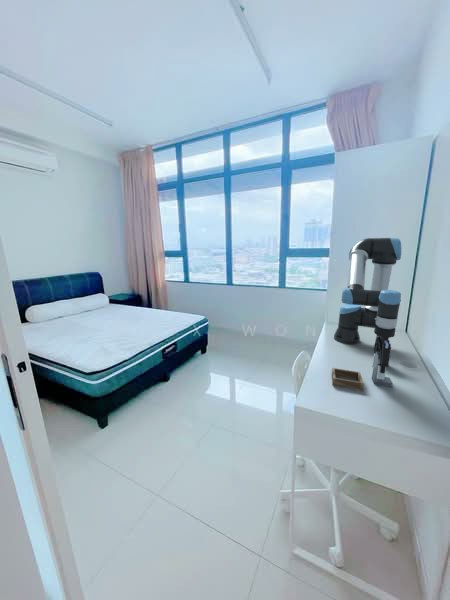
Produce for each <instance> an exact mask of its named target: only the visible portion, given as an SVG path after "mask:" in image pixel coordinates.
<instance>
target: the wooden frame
mask: <svg viewBox="0 0 450 600" xmlns="http://www.w3.org/2000/svg"><path fill="white" fill-rule="evenodd" d="M331 384H332V386H333V385H334V386H333V387H338V386H339V388H345V389H349V388H350V389H351V390H355V391H361V392H363V391H364V386H365V385H364V381H363V377H362V373H361V372H360V371H355V370H354V371H353V370H347V369H341V368H336V367H332V368H331Z"/></svg>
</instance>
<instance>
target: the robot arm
mask: <svg viewBox="0 0 450 600" xmlns="http://www.w3.org/2000/svg"><path fill="white" fill-rule="evenodd" d="M401 257H402V242H401V239H399V238H396V237H372V238H370V237H368V238H364V239H361V240H360V241H358V242H356V243H355V244H354V245H353V246H352V247H351V249H350V251H349V253H348V260H349V269H348V277H347V278H348V279H347V287H346V288H343V289H342V292H341V293H342V294H341V303H342V304H343V305H341V306H340V308H339V312H338V313H339V316H338V323H337V324H338V326H337V329H336V330H335V333H334V335H333V339H334V340H335V341H337V342H340V343H342V344H348V345H356V344H357V345H358V344H359V343H360V340H361V336H360V331H359V327H365V328H372V329H374V330H373V331H374V335H376V337H375V342H374V346H373V350H372V351H373V358H372V359H373V360H372V368H373V367H374V360H375V354H376V351H379V352H380V364H378V365H379V367H378V373H377V379H383V380H384V379H385V377H386V373H387V371H386V370H387V368H389V366H390V358H389V354H390V355H391V353H390V346H391V345H392V344H391V343H390V340H389V339H390V338H393V337H394V338H395V336H396V335H395V334H396V328H397V324H398V316H399V311H400V310H399V309H400V306H401V305H400V304H401V302H402V299H401V298H402V293H401V292H400V291H397V290H392V289H389V286H390V280H391V275H392V269H393V266H394V265H396V264H397V261H400V260H401ZM367 260H371V263H372V264H373V266H374V267H373V273H372V278H371V279H372V280H371V285H370V289H365V283H366V263H367ZM362 306H364V307H362ZM389 343H390V344H389ZM391 347H392V346H391Z"/></svg>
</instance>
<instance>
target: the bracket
mask: <svg viewBox="0 0 450 600" xmlns="http://www.w3.org/2000/svg"><path fill="white" fill-rule="evenodd" d="M378 364H380V352H379V351H376V354H375V360H374V367H372V375H371V380H372V383H373V385H377V386H381V387H388V388H393V381H392V378H391V377H389V376H385V379H384V380H383V379H377V373H378V367H379V365H378Z"/></svg>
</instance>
